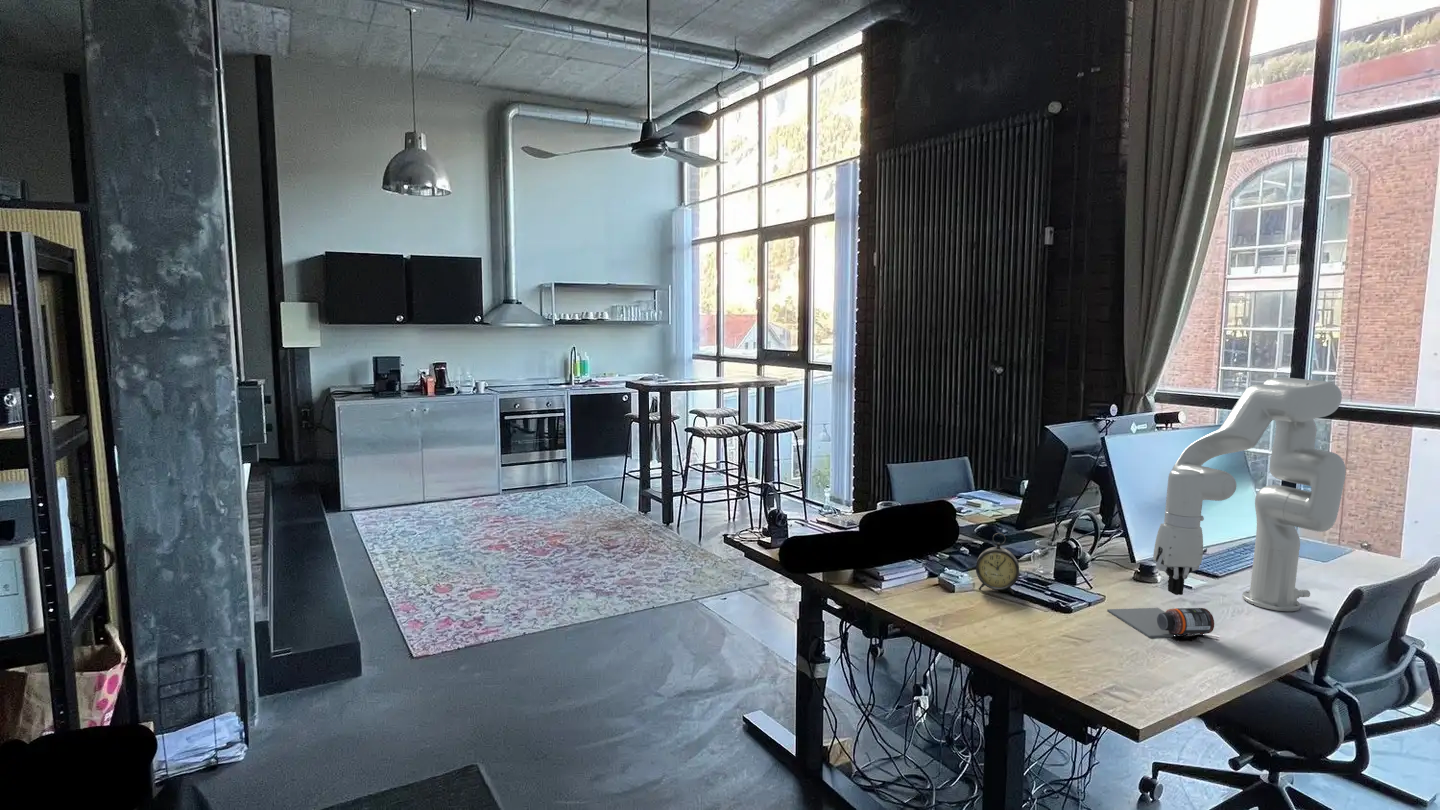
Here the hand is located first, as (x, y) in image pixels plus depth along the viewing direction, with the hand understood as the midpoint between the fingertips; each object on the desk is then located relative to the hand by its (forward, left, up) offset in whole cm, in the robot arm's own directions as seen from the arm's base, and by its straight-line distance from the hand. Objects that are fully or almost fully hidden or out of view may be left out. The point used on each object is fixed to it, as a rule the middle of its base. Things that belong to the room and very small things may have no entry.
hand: (1175, 592), depth 190 cm
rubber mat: (+5, 0, -8) cm, 9 cm away
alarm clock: (+34, -24, -8) cm, 42 cm away
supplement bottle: (-3, +7, -4) cm, 9 cm away
